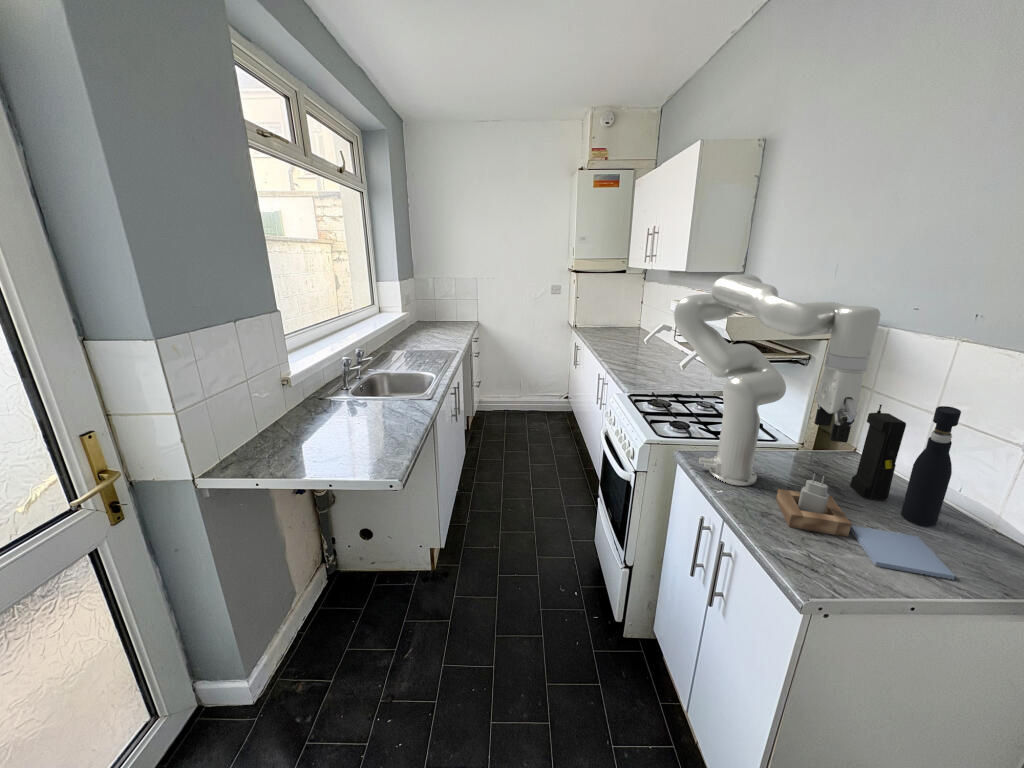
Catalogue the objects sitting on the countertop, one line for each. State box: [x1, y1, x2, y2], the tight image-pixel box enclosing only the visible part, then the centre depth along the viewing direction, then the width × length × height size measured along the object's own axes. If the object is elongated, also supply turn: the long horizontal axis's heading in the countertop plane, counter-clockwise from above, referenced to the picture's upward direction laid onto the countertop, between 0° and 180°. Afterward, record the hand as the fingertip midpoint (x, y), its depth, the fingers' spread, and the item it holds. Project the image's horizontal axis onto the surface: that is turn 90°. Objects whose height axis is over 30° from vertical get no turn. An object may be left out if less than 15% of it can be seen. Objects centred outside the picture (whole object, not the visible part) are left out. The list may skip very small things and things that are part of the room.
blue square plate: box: [849, 525, 956, 581], centre depth 91 cm, size 13×13×1 cm
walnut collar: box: [775, 488, 852, 538], centre depth 103 cm, size 12×12×4 cm
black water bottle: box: [900, 405, 962, 528], centre depth 96 cm, size 6×6×30 cm
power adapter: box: [798, 473, 830, 514], centre depth 101 cm, size 3×5×12 cm, turn 42°
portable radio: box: [849, 404, 907, 501], centre depth 109 cm, size 8×6×25 cm
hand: (829, 432), depth 96 cm, fingers open, 9 cm apart
